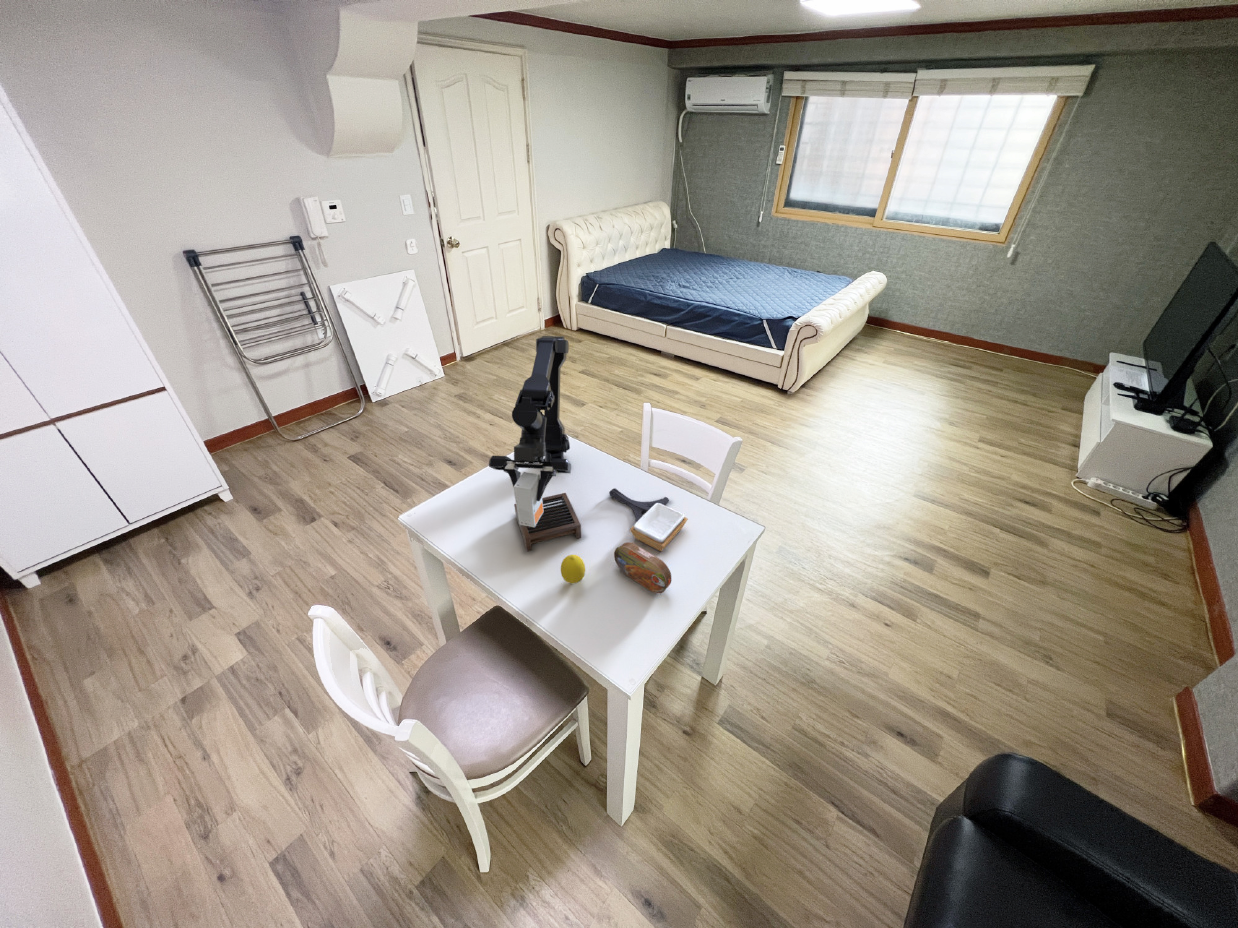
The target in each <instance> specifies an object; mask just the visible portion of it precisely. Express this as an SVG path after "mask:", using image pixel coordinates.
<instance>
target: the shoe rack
mask: <svg viewBox="0 0 1238 928" xmlns="http://www.w3.org/2000/svg"><path fill="white" fill-rule="evenodd" d="M542 502H543V510H544V512H543V514H542V516H541V517H540V519H539V521H538V522H537V524H536V526H535V527H530V526H524V525H520V524H519V520H518V513H517V507H516V503H514V506H513V507H514V512H515V513H514V514H515V518H516V523H517V524H518V528H519V530H520V534H521V537H522V540H523V543H524V546H525V549H526V552H530V551H532V550H533V549H532V548H533V547H532V544H536V543H541V542H544V541H548V540H552V539H556V538H560V537H564V536H569V535H571V534H574V535H575V538H576V539H580V538H582V524H581V522H580V520H579V518H578V516H577V514H576V511H575V510H574V507H573V505H572V503H571V501H570V499H569V496H568V494H567V492H562V493H558V494H553V495H550V496H545V497H542Z"/></svg>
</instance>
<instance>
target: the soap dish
mask: <svg viewBox="0 0 1238 928" xmlns="http://www.w3.org/2000/svg"><path fill="white" fill-rule="evenodd" d="M649 508H650V509H649V510H648V511H647V512H646V513H645V514H644V513H643V514H642V515H643V516H642V517H641V518H640V519H639V520H638V521H637V522H636V523H635V522H634V524H633V526H631V528H630V530H629V531H630V533H631V534H632V535H633V537H634V539H636V540H638V541H639V542H642V543H644V544H646V545H648V546H649V547H651V548H653V549H655V550H658V552H660V553H661V552H663V551H664V549H665V548H666V547H667V546H668V545H669V544H670V542H671V541H673V539H674V538H675V537H676V536H677V535H678V533H679V532H680V531H681V530H682V529H683V527H684V526H685V524H686V523H687V521H688V520H689V519H688V517H686V516H685V514H684V513H682V512H680V511H678V510H675V509H673V508H671V507H669V506H666V504H665V505H662V504H660V503H656V504H655V505H654V506H652V507H649Z"/></svg>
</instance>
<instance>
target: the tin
mask: <svg viewBox="0 0 1238 928" xmlns="http://www.w3.org/2000/svg"><path fill="white" fill-rule="evenodd" d="M613 553H614V554H613V557H614V561H615V563H616V567H618V569H619V570H620V571H621V572H622V574H624V575H625V576H627V577H628V578H630V579H631V580H633V581H634V582H636V583H637V584H639V585H640V586H642V587H643V588H645V589H647V590H648V591H650V592H651V593H654V594H662V593H664V592H665V591H666V590H667V589H668V588H669V586H670V585H671V584H672V573H671V570H670V568H669V567H668V565H667V564H666V563H665V562H664V561H663V559H660V558H659V557H658V556H656V555H654V554H653V553H651V552H649V551H647V550H646V549H644V548H642V547H641V546H639V545H637V544H636V543H634V542H629V541H627V542H624V543H622V544H621V545H619V546H618V547H616V548H615V550H614V552H613Z"/></svg>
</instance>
